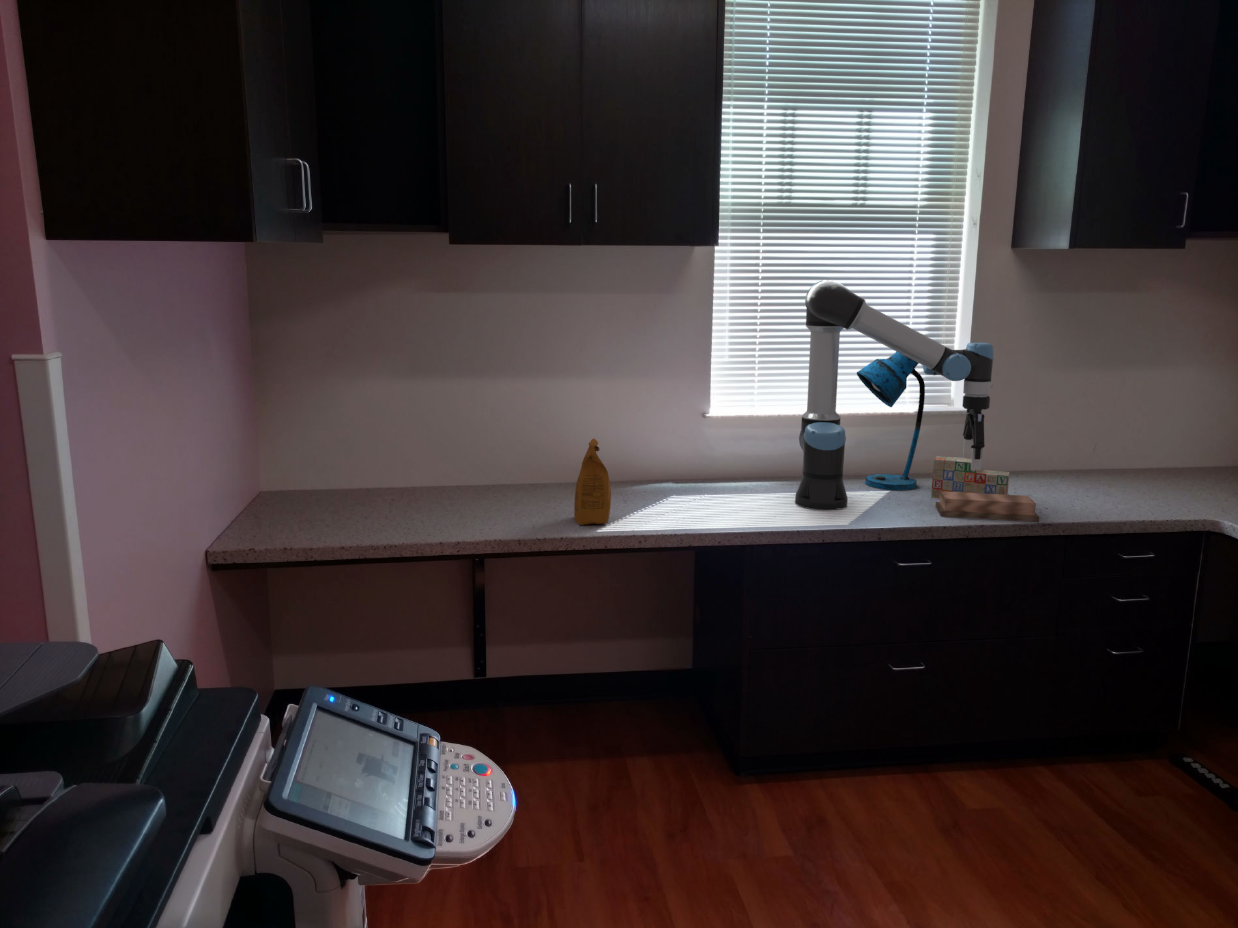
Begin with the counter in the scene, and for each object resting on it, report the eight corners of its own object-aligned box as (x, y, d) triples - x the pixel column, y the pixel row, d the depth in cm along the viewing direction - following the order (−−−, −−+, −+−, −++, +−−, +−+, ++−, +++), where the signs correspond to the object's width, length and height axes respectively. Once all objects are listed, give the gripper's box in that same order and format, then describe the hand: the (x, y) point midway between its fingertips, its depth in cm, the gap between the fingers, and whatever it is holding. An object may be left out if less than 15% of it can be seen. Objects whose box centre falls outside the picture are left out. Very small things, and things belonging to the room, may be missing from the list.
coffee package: (610, 514, 261) (611, 437, 256) (610, 526, 248) (611, 445, 244) (575, 514, 260) (575, 437, 256) (573, 526, 248) (573, 445, 244)
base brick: (941, 516, 263) (942, 499, 262) (935, 506, 274) (936, 490, 273) (1038, 521, 258) (1040, 504, 257) (1029, 511, 269) (1030, 495, 268)
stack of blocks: (1007, 502, 281) (1011, 462, 279) (1005, 506, 276) (1009, 465, 273) (933, 493, 290) (936, 455, 288) (930, 498, 285) (933, 458, 282)
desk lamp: (843, 479, 309) (852, 342, 300) (908, 479, 310) (919, 343, 301) (858, 490, 293) (868, 346, 284) (927, 490, 294) (938, 347, 285)
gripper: (998, 401, 264) (993, 474, 268) (981, 390, 288) (976, 457, 292) (971, 400, 265) (965, 473, 270) (956, 389, 289) (951, 456, 294)
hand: (971, 465), depth 281 cm, fingers open, 13 cm apart
